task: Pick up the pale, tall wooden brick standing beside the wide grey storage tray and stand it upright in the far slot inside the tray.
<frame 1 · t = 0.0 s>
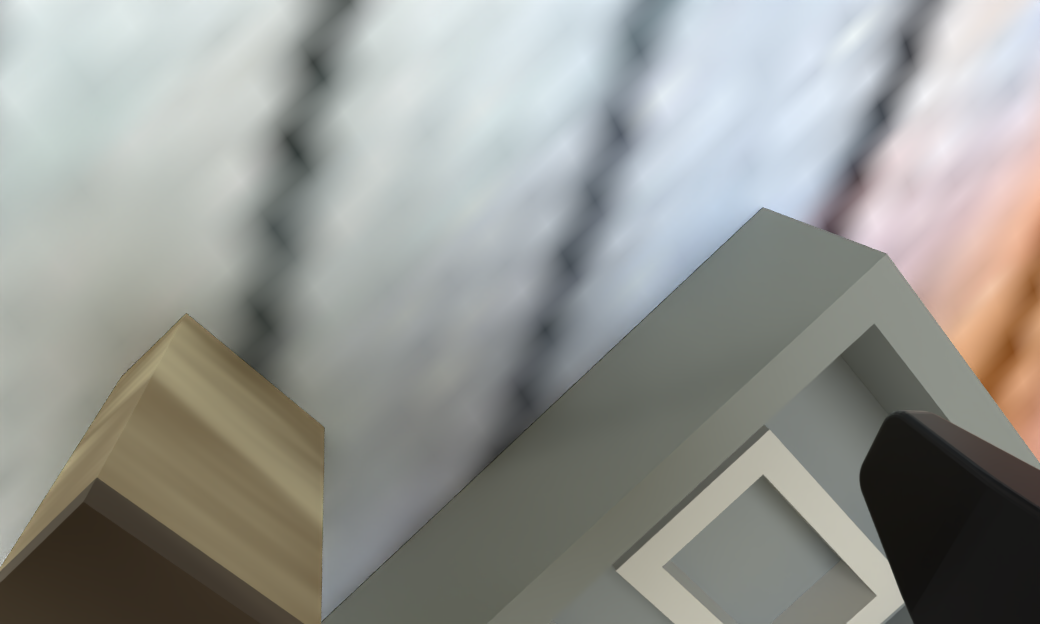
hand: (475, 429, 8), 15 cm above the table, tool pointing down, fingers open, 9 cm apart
tall wooden brick: (226, 403, 23), on the table
grey storage tray: (632, 618, 29), on the table
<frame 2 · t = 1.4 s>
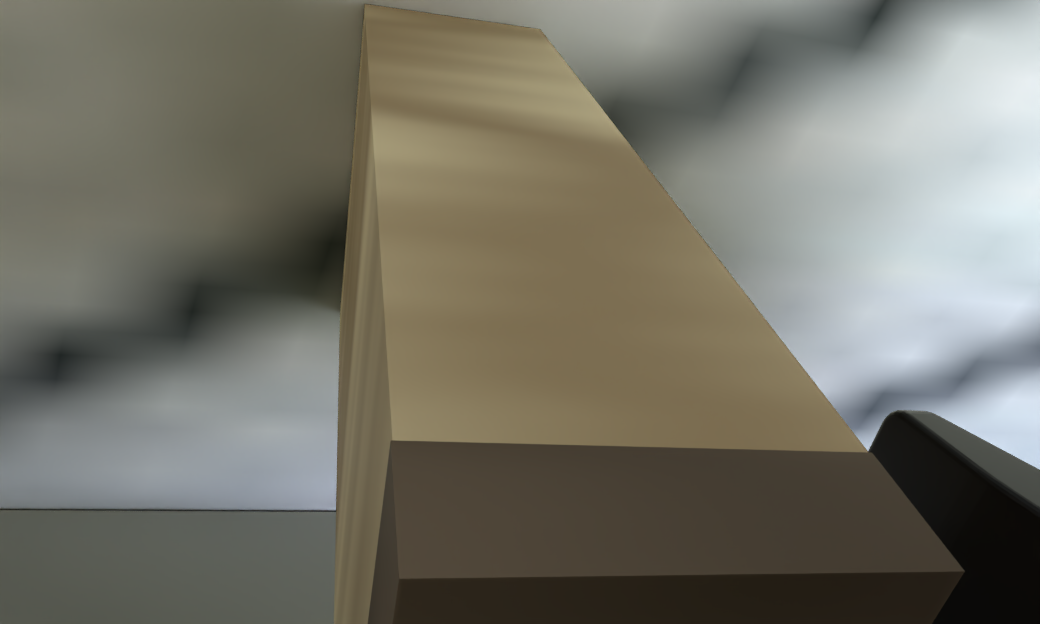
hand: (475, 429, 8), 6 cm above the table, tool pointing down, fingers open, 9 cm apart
tall wooden brick: (432, 181, 13), on the table
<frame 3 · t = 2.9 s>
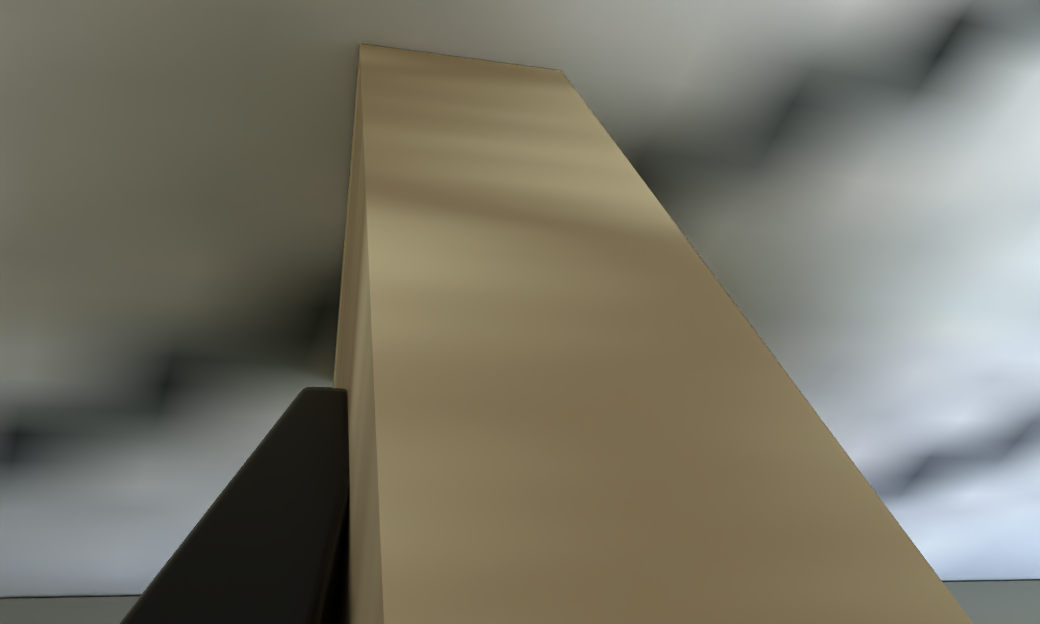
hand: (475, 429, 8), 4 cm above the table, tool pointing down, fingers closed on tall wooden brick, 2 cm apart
tall wooden brick: (437, 240, 12), on the table, touching gripper
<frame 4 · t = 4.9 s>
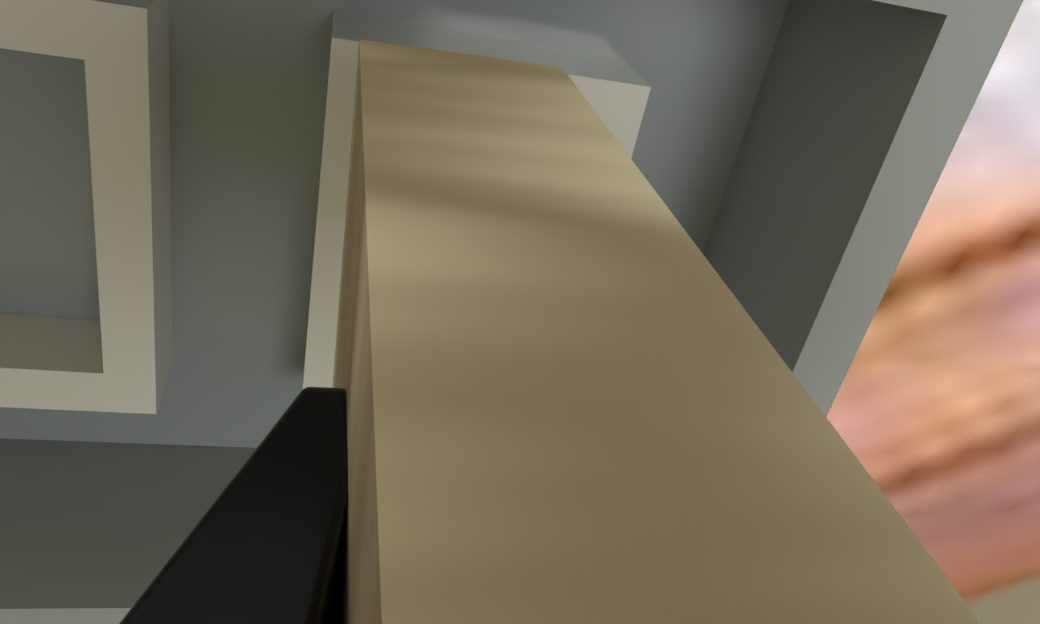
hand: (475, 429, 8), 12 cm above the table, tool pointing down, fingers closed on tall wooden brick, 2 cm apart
tall wooden brick: (437, 236, 11), point 8 cm above the table, touching gripper
grey storage tray: (249, 184, 19), on the table
when the fingers open (6 cm above the table, at t = 7.2 s): tall wooden brick stays where it is, resting on grey storage tray.
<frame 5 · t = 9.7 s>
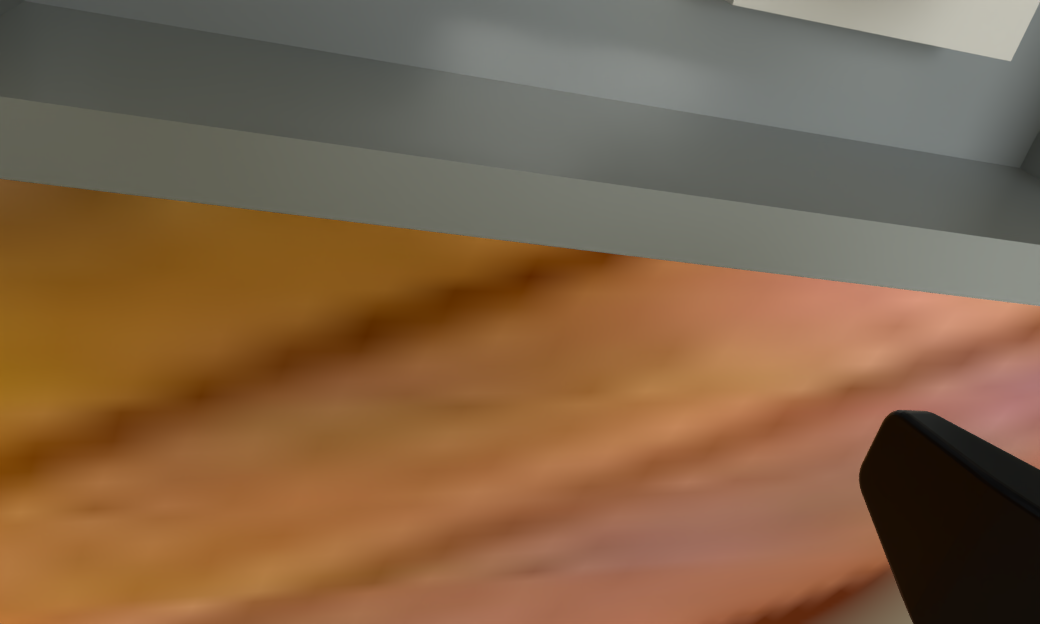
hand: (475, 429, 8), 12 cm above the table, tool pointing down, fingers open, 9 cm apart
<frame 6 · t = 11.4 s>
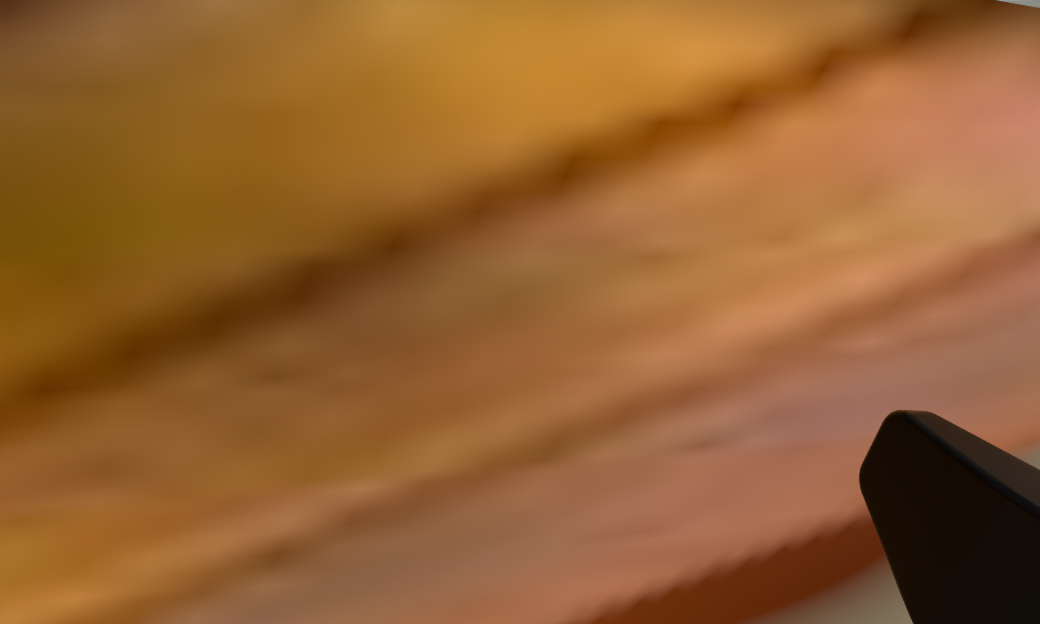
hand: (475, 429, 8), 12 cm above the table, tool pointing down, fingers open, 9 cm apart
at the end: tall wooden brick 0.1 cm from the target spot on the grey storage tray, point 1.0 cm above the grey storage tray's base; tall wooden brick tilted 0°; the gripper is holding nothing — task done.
